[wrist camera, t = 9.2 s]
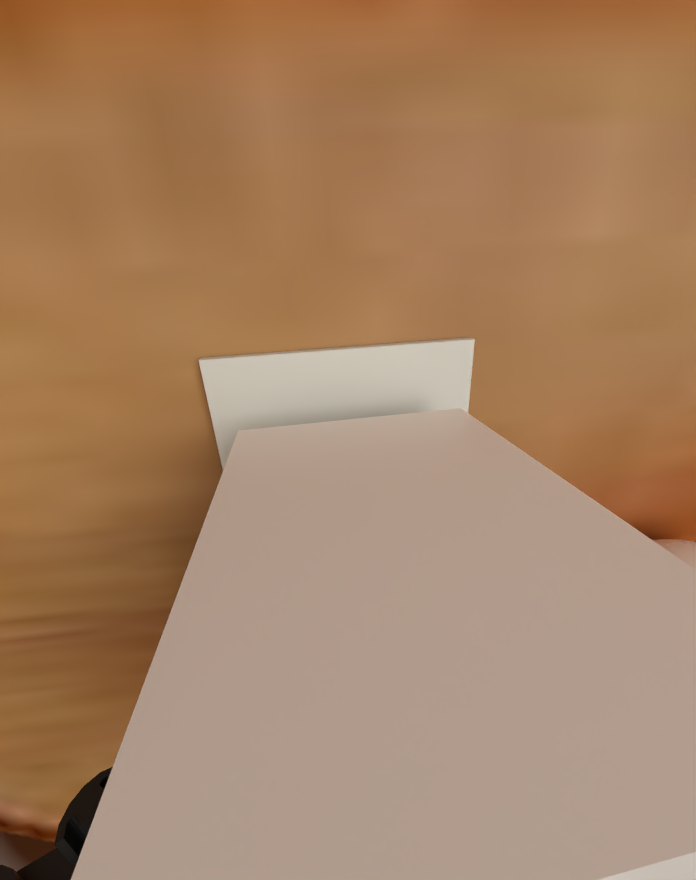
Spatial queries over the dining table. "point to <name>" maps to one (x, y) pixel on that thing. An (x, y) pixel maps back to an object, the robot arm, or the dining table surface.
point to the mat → (334, 385)
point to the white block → (410, 675)
